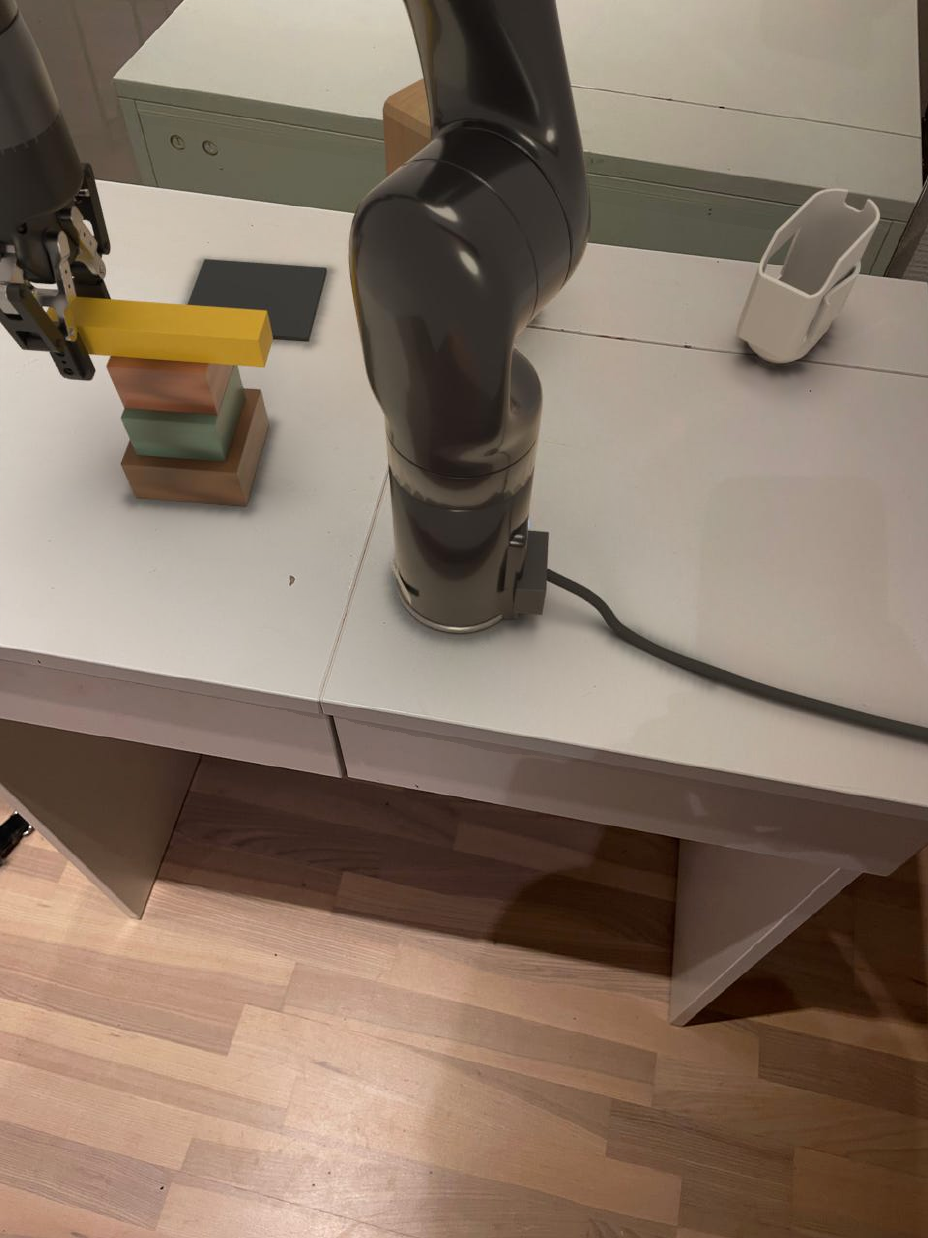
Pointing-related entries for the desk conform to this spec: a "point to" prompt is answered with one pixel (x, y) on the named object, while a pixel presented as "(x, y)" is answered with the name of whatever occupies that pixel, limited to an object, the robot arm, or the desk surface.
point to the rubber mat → (263, 292)
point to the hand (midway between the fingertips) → (92, 348)
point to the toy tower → (189, 430)
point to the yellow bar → (172, 331)
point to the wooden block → (405, 125)
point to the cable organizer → (807, 276)
